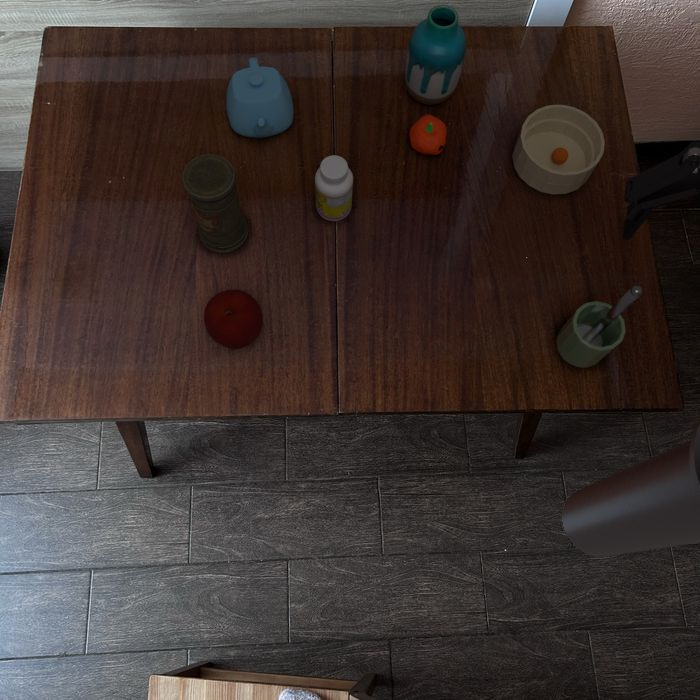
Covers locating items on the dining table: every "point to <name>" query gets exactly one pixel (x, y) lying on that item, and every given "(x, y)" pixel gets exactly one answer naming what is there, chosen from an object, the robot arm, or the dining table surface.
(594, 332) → the ladle
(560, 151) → the ball
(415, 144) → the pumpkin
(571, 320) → the cup
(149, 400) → the dining table surface
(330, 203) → the supplement bottle
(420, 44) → the vase
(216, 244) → the container
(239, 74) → the teapot
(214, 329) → the apple
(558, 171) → the bowl
